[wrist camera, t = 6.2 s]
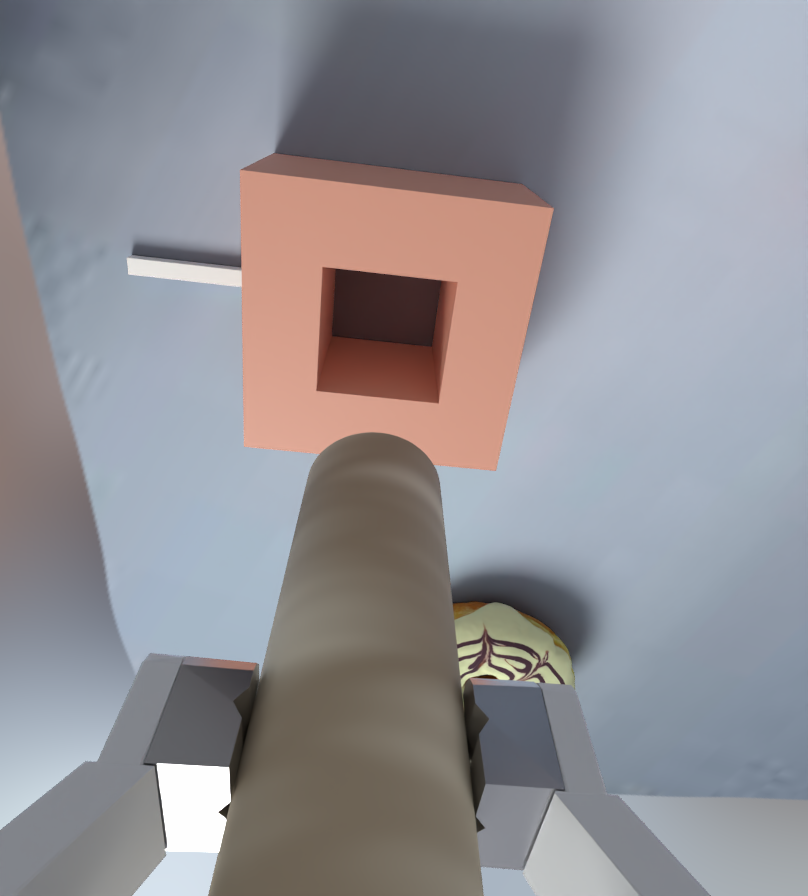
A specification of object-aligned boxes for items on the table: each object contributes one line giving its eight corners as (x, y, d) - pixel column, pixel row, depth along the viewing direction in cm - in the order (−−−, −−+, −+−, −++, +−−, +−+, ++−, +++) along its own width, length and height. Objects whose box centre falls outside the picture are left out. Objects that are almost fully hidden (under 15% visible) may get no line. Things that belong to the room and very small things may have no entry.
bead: (522, 184, 25) (554, 208, 20) (479, 405, 30) (495, 470, 25) (274, 153, 25) (240, 170, 19) (271, 383, 30) (244, 446, 24)
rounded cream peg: (449, 439, 13) (626, 1647, 3) (430, 549, 15) (505, 1618, 4) (309, 425, 13) (-26, 1660, 3) (304, 538, 15) (72, 1625, 4)
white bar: (272, 271, 27) (270, 273, 27) (272, 286, 27) (270, 290, 27) (131, 254, 27) (126, 257, 26) (133, 271, 27) (128, 274, 27)
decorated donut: (491, 558, 35) (500, 605, 32) (597, 656, 39) (615, 707, 36) (359, 647, 39) (356, 699, 35) (469, 729, 43) (475, 782, 39)
